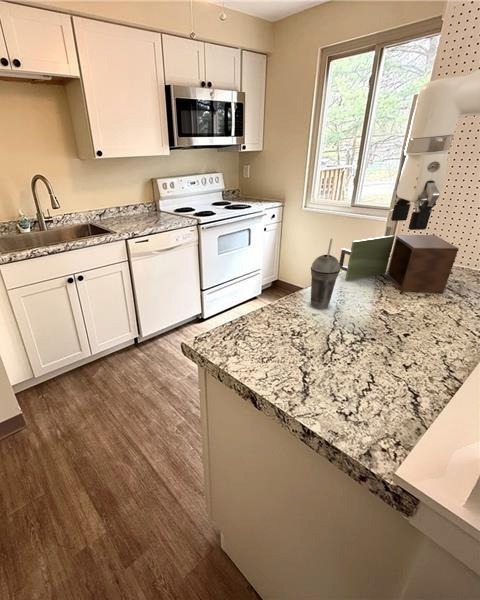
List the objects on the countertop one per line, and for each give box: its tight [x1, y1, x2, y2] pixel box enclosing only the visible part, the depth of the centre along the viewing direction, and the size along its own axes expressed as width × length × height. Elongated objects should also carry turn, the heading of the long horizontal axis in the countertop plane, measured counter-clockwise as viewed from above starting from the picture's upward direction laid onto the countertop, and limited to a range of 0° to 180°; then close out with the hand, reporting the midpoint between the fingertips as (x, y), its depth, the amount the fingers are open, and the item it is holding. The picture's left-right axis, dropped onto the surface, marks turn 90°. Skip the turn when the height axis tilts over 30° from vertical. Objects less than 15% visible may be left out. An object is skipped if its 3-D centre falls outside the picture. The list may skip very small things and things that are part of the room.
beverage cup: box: [310, 238, 341, 310], centre depth 87 cm, size 7×7×20 cm
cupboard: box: [386, 234, 459, 294], centre depth 96 cm, size 10×15×14 cm
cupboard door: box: [338, 234, 396, 282], centre depth 106 cm, size 6×15×14 cm, turn 100°
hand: (407, 224), depth 75 cm, fingers open, 9 cm apart
